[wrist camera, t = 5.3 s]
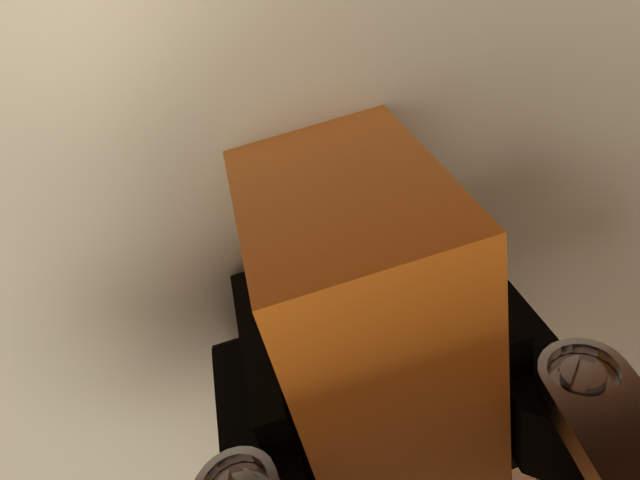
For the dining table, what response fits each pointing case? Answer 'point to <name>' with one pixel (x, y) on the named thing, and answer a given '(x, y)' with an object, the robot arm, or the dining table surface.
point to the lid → (305, 221)
